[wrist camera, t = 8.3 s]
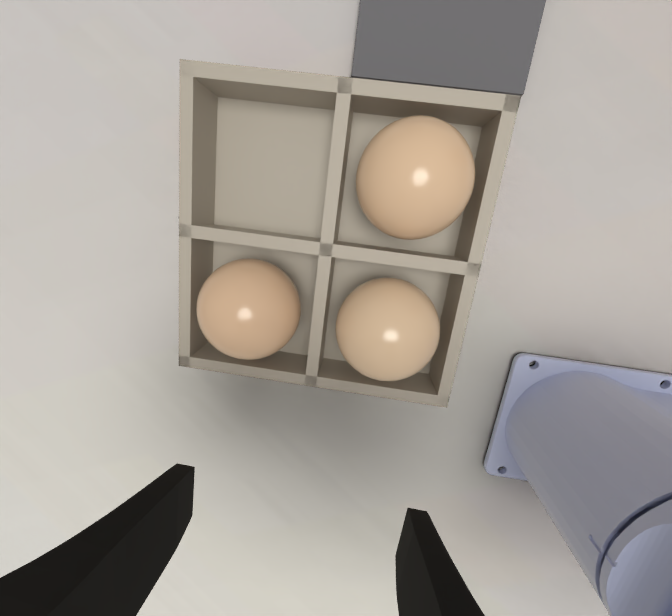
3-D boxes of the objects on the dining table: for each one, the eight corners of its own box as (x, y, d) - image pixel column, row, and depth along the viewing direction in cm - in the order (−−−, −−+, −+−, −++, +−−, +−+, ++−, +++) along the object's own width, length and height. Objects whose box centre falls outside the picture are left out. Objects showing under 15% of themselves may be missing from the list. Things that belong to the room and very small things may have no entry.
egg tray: (494, 117, 17) (521, 95, 14) (435, 380, 20) (447, 407, 17) (210, 85, 17) (179, 59, 14) (204, 345, 21) (178, 365, 18)
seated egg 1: (313, 260, 19) (294, 274, 14) (303, 345, 20) (283, 385, 15) (224, 247, 19) (175, 257, 14) (220, 332, 20) (175, 368, 15)
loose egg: (466, 139, 16) (510, 105, 12) (444, 243, 18) (476, 251, 13) (363, 126, 17) (365, 88, 12) (350, 230, 18) (346, 234, 13)
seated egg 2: (438, 277, 18) (463, 298, 13) (420, 362, 20) (438, 409, 15) (345, 264, 18) (338, 280, 14) (334, 349, 20) (323, 391, 15)
